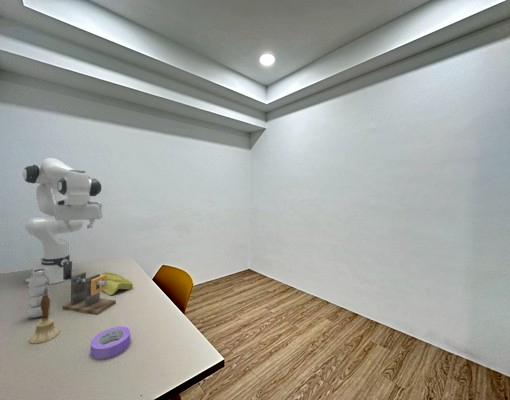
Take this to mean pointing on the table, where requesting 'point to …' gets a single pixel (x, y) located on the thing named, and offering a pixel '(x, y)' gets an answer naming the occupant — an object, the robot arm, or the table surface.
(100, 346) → the masking tape
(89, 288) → the shaft frame
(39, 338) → the hand bell
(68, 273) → the shaft
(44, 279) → the plastic bottle
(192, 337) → the table surface
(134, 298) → the table surface
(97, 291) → the frame
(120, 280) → the plastic component
